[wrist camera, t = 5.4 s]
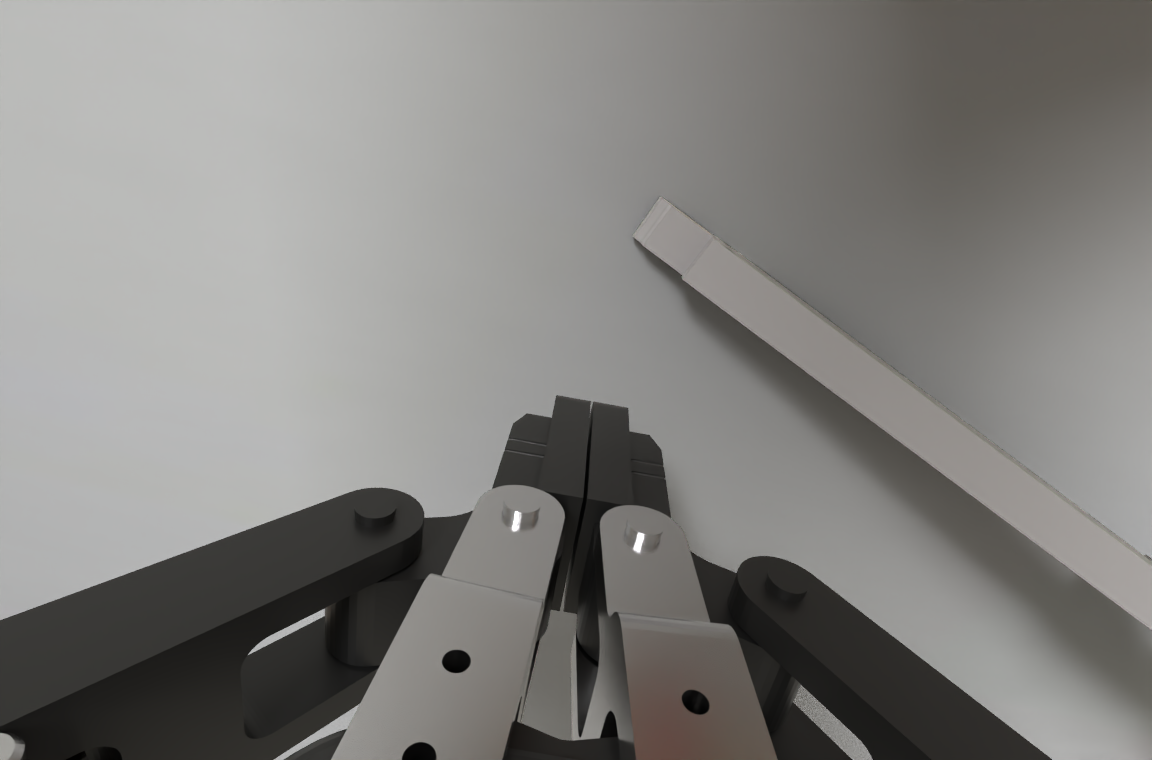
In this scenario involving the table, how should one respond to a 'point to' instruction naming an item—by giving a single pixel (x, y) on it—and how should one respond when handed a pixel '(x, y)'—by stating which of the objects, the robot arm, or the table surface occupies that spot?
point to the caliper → (900, 408)
